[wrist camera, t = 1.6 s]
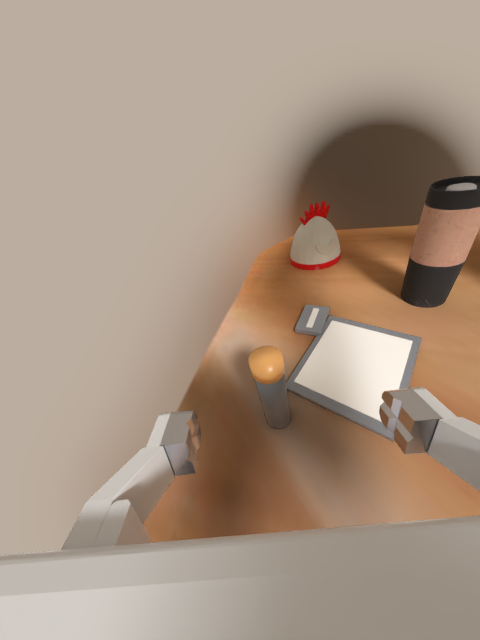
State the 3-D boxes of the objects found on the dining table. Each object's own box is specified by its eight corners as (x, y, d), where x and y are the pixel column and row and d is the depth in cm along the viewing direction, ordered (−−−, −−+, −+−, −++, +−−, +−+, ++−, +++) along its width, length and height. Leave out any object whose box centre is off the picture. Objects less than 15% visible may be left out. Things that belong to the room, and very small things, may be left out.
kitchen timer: (351, 259, 61) (357, 199, 52) (305, 275, 60) (302, 217, 51) (322, 244, 72) (323, 192, 63) (283, 257, 71) (278, 206, 62)
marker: (273, 399, 35) (260, 341, 27) (296, 412, 33) (289, 352, 25) (260, 420, 33) (241, 364, 25) (283, 435, 31) (271, 378, 23)
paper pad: (329, 317, 46) (330, 314, 46) (420, 339, 37) (421, 336, 37) (284, 388, 36) (283, 385, 36) (393, 441, 27) (395, 439, 27)
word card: (306, 308, 50) (305, 304, 49) (329, 310, 47) (330, 306, 47) (295, 332, 45) (294, 328, 44) (321, 337, 42) (321, 332, 42)
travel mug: (400, 284, 49) (428, 179, 36) (445, 288, 45) (495, 172, 33) (398, 305, 44) (429, 193, 32) (448, 311, 41) (507, 187, 28)
